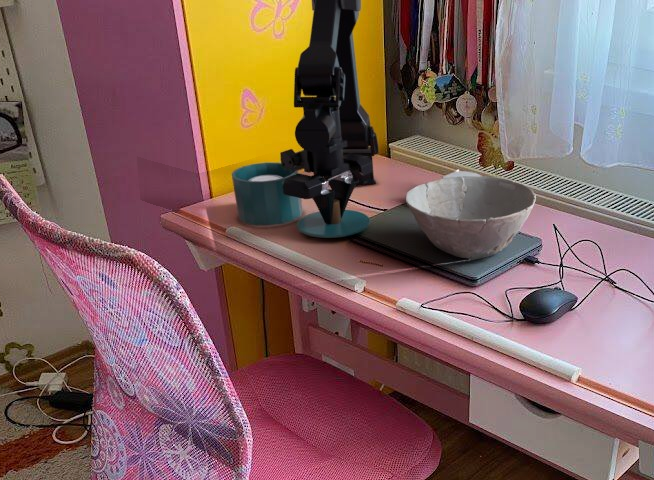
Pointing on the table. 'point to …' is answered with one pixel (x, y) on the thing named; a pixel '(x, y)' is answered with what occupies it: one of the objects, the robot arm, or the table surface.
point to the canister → (264, 195)
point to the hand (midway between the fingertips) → (333, 221)
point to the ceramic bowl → (471, 213)
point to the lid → (334, 223)
